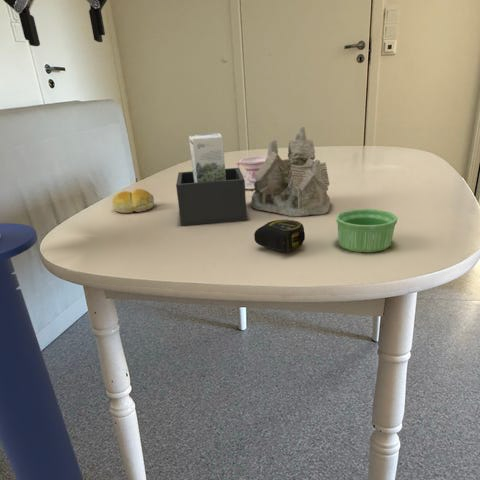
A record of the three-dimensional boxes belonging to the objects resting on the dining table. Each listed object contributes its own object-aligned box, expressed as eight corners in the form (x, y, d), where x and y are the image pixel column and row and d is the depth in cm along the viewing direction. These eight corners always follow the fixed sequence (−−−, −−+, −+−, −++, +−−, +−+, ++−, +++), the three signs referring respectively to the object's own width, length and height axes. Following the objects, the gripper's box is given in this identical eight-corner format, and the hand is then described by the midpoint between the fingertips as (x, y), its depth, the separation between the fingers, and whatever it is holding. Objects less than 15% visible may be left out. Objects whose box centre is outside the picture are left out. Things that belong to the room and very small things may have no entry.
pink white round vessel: (281, 178, 117) (281, 153, 114) (280, 189, 106) (280, 162, 103) (236, 180, 118) (234, 156, 115) (230, 191, 108) (229, 164, 105)
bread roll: (116, 205, 102) (113, 188, 100) (155, 202, 102) (153, 184, 100) (110, 215, 95) (106, 196, 93) (152, 212, 95) (149, 193, 93)
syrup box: (223, 206, 93) (217, 131, 86) (228, 213, 88) (222, 134, 81) (196, 209, 92) (188, 134, 85) (200, 216, 87) (191, 137, 80)
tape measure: (252, 249, 71) (251, 226, 69) (282, 237, 75) (281, 216, 73) (283, 258, 67) (283, 234, 65) (313, 246, 70) (314, 223, 68)
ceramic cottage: (251, 197, 100) (250, 125, 92) (325, 197, 99) (331, 124, 91) (248, 222, 87) (247, 140, 78) (334, 222, 86) (341, 139, 77)
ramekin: (378, 258, 64) (381, 229, 62) (324, 247, 70) (325, 220, 68) (403, 240, 70) (407, 213, 68) (352, 231, 75) (353, 206, 73)
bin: (181, 225, 85) (176, 185, 81) (182, 208, 96) (178, 172, 92) (246, 220, 85) (244, 179, 82) (241, 204, 96) (238, 167, 93)
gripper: (105, -99, 64) (127, 41, 72) (-19, -93, 63) (18, 48, 71) (94, -120, 57) (120, 38, 65) (-44, -113, 56) (0, 45, 65)
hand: (67, 43), depth 68 cm, fingers open, 9 cm apart
